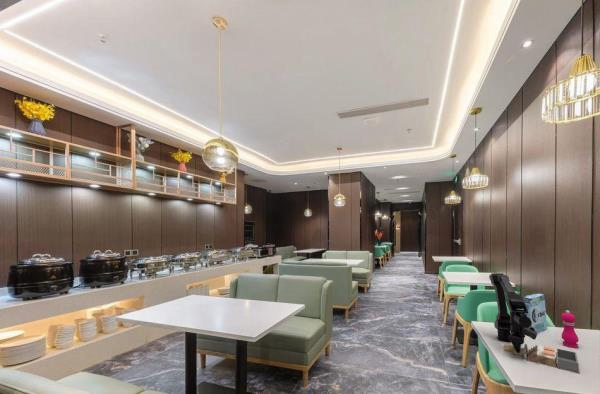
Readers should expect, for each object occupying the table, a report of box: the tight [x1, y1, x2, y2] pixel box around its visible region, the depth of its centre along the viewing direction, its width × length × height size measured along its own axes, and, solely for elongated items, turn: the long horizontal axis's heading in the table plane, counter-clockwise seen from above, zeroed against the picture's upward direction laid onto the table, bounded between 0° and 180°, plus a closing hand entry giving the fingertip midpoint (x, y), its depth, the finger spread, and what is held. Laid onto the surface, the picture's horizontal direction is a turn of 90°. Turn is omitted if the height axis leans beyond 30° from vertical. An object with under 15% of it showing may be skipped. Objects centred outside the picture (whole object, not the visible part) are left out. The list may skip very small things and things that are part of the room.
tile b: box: [543, 345, 555, 352], centre depth 150 cm, size 4×4×1 cm
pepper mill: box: [560, 309, 579, 349], centre depth 166 cm, size 7×7×20 cm
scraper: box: [503, 343, 529, 360], centre depth 157 cm, size 10×12×4 cm
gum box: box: [521, 292, 548, 334], centre depth 189 cm, size 20×5×23 cm, turn 116°
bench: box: [527, 345, 557, 368], centre depth 150 cm, size 11×14×4 cm
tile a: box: [544, 350, 556, 358], centre depth 146 cm, size 4×4×1 cm
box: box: [555, 348, 580, 374], centre depth 144 cm, size 8×15×4 cm, turn 139°
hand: (518, 350), depth 156 cm, fingers open, 7 cm apart
